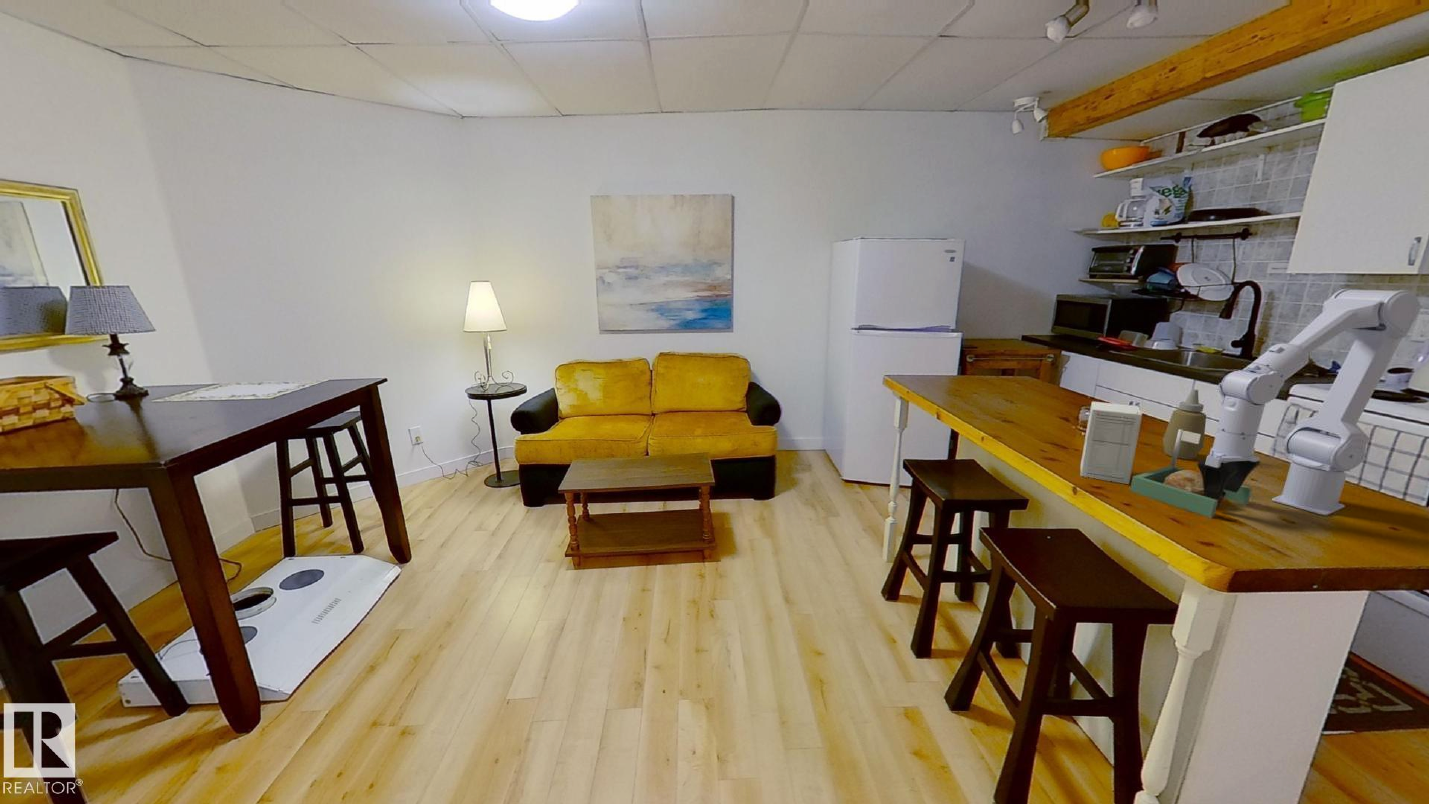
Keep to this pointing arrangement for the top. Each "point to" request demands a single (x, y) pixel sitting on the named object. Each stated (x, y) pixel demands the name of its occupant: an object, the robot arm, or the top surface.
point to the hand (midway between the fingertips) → (1220, 493)
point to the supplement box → (1110, 442)
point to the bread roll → (1189, 483)
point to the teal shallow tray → (1155, 489)
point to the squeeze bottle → (1186, 427)
